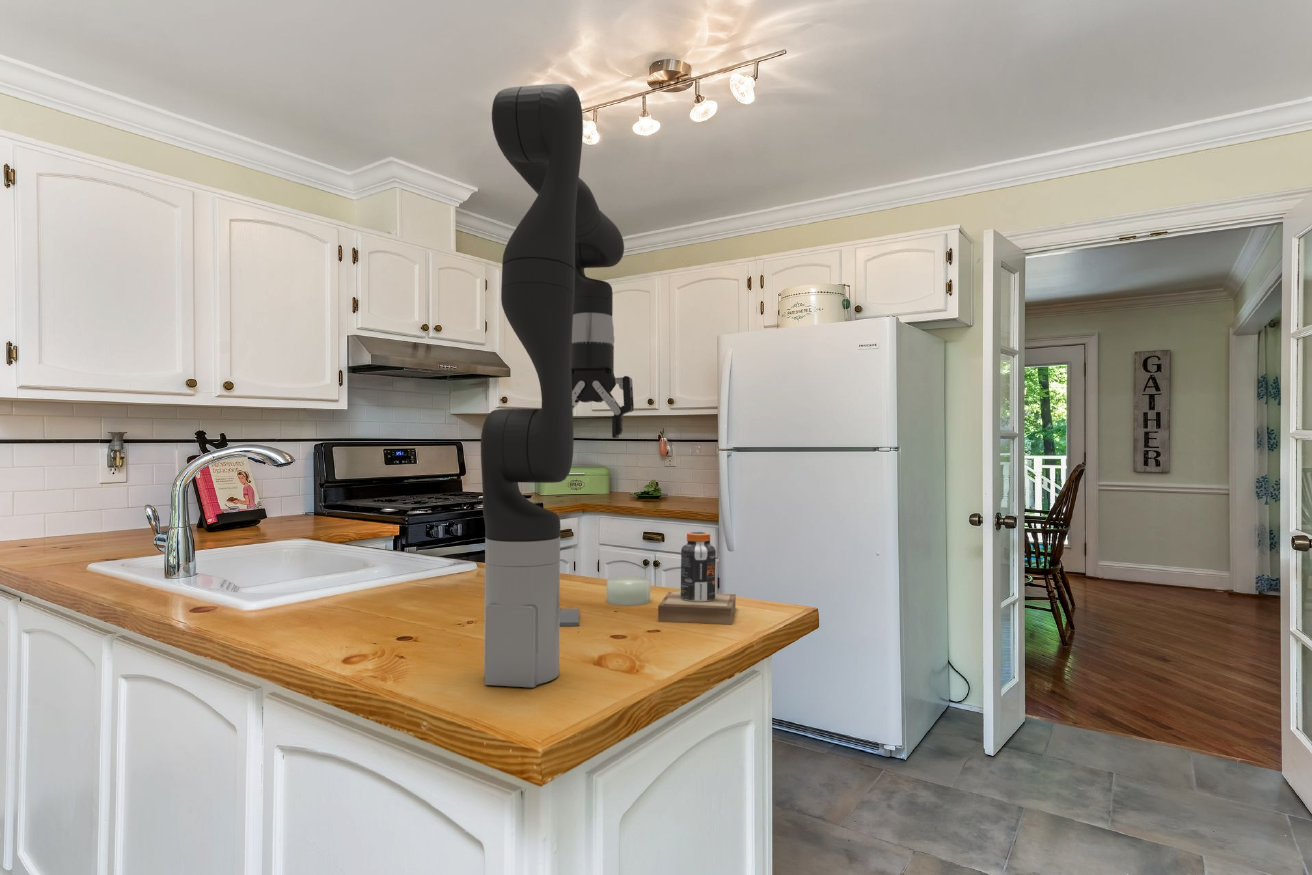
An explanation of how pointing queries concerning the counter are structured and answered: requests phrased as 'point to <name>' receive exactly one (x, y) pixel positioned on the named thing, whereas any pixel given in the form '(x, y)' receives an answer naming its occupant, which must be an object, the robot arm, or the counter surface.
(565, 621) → the coaster
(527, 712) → the counter surface
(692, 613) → the riser
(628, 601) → the pale green puck
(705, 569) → the pill bottle
